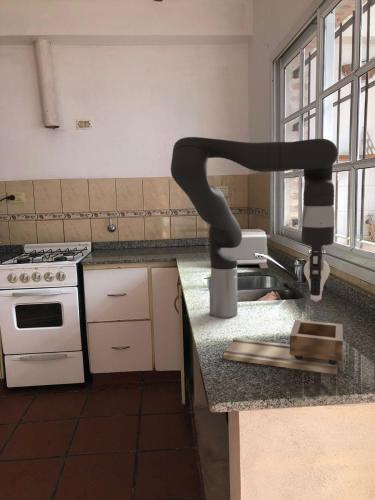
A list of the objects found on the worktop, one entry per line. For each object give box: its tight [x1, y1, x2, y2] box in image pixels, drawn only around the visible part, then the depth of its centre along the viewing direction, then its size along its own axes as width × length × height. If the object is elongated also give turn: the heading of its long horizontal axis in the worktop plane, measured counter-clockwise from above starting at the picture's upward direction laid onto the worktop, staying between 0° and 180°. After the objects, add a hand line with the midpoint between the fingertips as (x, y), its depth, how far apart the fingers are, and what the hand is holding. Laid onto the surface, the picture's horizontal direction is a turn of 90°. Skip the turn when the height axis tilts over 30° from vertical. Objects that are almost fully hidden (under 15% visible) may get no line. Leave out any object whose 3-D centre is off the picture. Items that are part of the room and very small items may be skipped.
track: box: [223, 337, 339, 376], centre depth 102 cm, size 28×12×2 cm, turn 69°
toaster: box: [221, 228, 271, 269], centre depth 226 cm, size 19×34×20 cm, turn 90°
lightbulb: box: [303, 259, 331, 302], centre depth 96 cm, size 6×6×11 cm
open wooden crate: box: [289, 319, 344, 364], centre depth 98 cm, size 12×12×7 cm
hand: (315, 291), depth 97 cm, fingers closed on lightbulb, 5 cm apart
